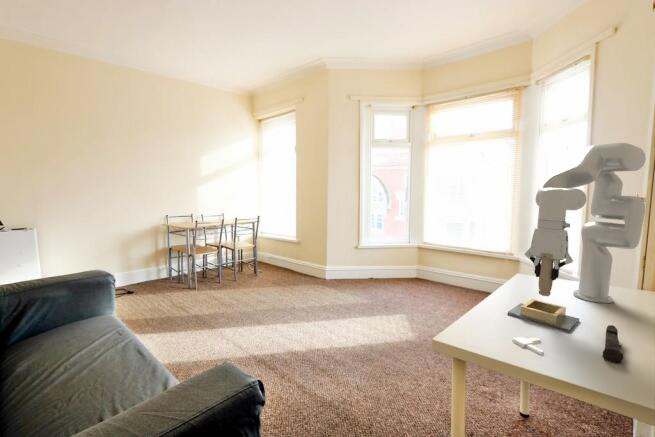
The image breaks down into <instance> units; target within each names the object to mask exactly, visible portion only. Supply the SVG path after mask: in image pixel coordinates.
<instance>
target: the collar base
mask: <svg viewBox="0 0 655 437" xmlns="http://www.w3.org/2000/svg"><path fill="white" fill-rule="evenodd" d="M566 312H567V307H566V306H562V305H557V304H553V303H550V302H546V301H542V300H537V299H534V298H531V299H530V300H528V301H526V302H525V303H522V302H520V303H519V304H517V305H516V306H514V307H513V308H511V309H510V310H508V311H507V316H511V317H514V318H518V319H520V320H525V321H529V322H531V323H535V324H538V325H541V326H545V327H548V328H551V329H555V330H559V331H562V332H565V333H570V332H571V331H572V330H573V329H574V328H575V327H576V325H578V324H579V322H580V318H578V317H575V316H571V315H567V314H566Z"/></svg>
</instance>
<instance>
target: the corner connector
mask: <svg viewBox="0 0 655 437" xmlns="http://www.w3.org/2000/svg"><path fill="white" fill-rule="evenodd" d="M511 342H513V343H515V344H517V345H518V346H520V347H521V348H526V349H529V350H530V351H531V352H534V353H535V354H538V355H544V350H542V349H541V348H540V347H537V346H535V345H536V344H540V343H541V339H540V338H539V337H532V338H531V337H530V338H526V337H524V336H518V337H517V336H516V337H512V341H511ZM534 344H535V345H534Z"/></svg>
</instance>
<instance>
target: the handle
mask: <svg viewBox="0 0 655 437" xmlns="http://www.w3.org/2000/svg"><path fill="white" fill-rule="evenodd" d="M544 255H546V256H544ZM540 257H542V258H541V262H540V263H541V268H540V274H539V277H538V294H539V296H543V297H550V296H551V293H552V292H551V291H552V288H553V283H554V280H551V277H552V269H553V268H554V261H553V259H551V258H553V255H552V254H546V253H541V255H540Z"/></svg>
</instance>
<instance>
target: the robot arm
mask: <svg viewBox="0 0 655 437" xmlns="http://www.w3.org/2000/svg"><path fill="white" fill-rule="evenodd" d="M646 160H647V158H646V152H645V150H643V148H641V147H638V146H636V145H634V144H631V143H627V142H615V143H614V142H613V143H612V142H611V143H601V144H594V145H589V146H587V147H586V148H584V150H582V152H581V154H579V156H578V158H576V160H575V162H573V164H572V166H571V167H569V168H566V169H565V170H562V171H560V172H558V173H557V174H556V173H555V174H554V175H552V176H550V177H549V178H547V179H546V180H545V181H544V182H543V183H542V185H541V186H540V188H539V189H538V191H537V192H536V196H535V204H536V205H537V206H538V216H537V225H536V226H537V227H535V228H534V231H533V234H532V238H531V242H530V247H529V248H528V249H527V251H525V253H524V256H525V257H526V258H528V259H529V260H530V261H531V262H532V263H533V265H534V274H535V277H536V278H539V274H540V268H541V258H542V257H540V255H541V253H546V254H552V255H553V258H551V259H553V261H554V262H553V269H552V277H551V280H553V281H556V279H558V278H559V276H560V275H559V274H560V268H562V267H564V266H566V265H570V264H572V263H573V262H574V259H573V258H572V257H571V255H570V253H569V234H568V230H566V228H570V227H571V223H567V221H566V215H567V211H578V210H580V209H582V208H583V207H584V206H585V205H586V202H587V195H586V193H585V192H584V191H583V190H582V189H579V188H580V187H582V186H583V187H584V186H586V185H589V184H591V183H594V186H593V191H592V192H593V194H592V198H591V203H590V214H591V216H592V217H594V218H596V219H602V220H603V219H606V220H617V221H624V223H618V222H617V223H616V222H608V221H607V222H605V221H589V222H586V223H584V224H583V226H582V227H581V230H580V231H581V243H582V244H581V246H582V250H581V262H580V263H581V264H580V272H579V281H578V282H579V283H578V289H577V290H574V291H573V295H574V296H575V297H577V298H578V299H581V300H584V301H587V302H592V303H597V304H598V303H599V304H611V303H613V302H614V298H613V297H612V296H610V295H609V294H610V293H609V292H610V286H611V285H610V283H611V276H612V268H613V266H612V265H613V256H612V253H611V252H610V250H609V249H608V248H613V249H615V248H616V249H622V250H634V249H636V248H637V247H638V246H639V244H640V241H641V237H642V231H643V225H644V221H645V216H646V215H645V214H646V204H645V201H644V199H643V198H641V197H639V196H635V195H622V192H623V187H624V183H623V180H622V179H621V178H620V176H619V175H617V174H616V173H615V172H636V171H637V172H638V171H639V170H641V169H642V168H643V167H644V165H645V164H646ZM607 247H608V248H607ZM544 256H546V255H544Z"/></svg>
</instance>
